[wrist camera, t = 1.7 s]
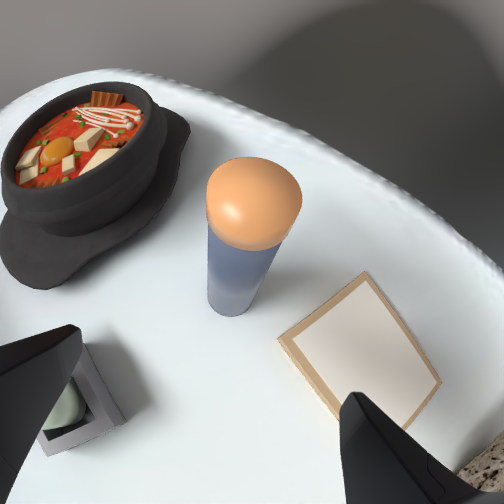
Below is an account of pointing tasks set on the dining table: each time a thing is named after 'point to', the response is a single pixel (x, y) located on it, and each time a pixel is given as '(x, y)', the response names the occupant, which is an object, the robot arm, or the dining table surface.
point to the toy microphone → (246, 228)
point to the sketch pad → (362, 354)
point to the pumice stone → (487, 468)
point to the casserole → (85, 178)
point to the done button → (67, 408)
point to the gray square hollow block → (98, 404)
